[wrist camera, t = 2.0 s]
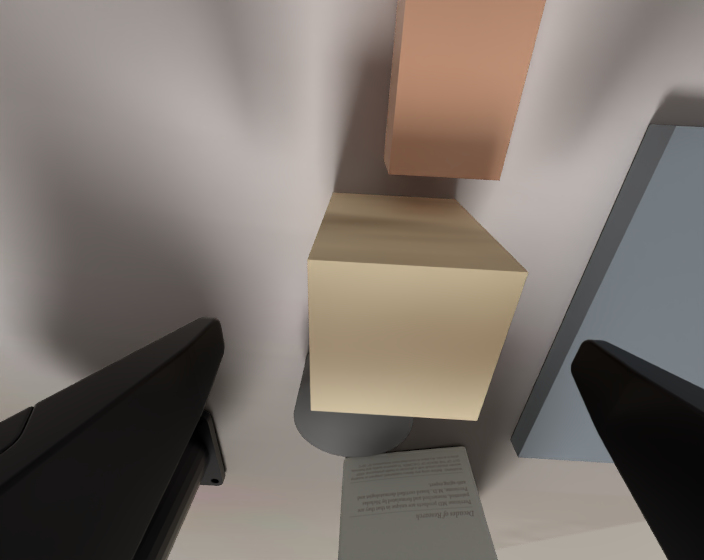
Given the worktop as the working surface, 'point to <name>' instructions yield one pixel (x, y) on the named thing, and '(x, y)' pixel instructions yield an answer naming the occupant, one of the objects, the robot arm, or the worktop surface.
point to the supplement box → (412, 508)
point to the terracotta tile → (457, 85)
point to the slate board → (631, 294)
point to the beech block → (406, 307)
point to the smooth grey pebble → (347, 427)
